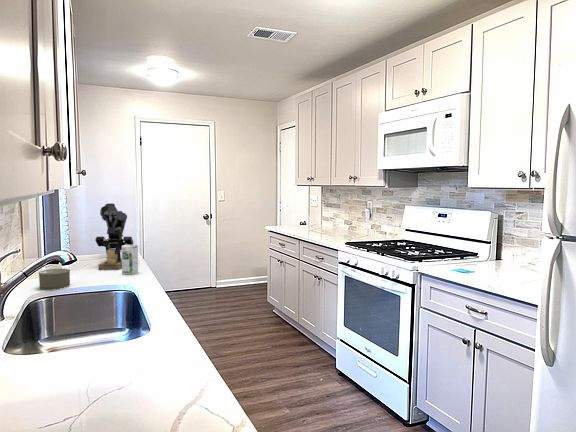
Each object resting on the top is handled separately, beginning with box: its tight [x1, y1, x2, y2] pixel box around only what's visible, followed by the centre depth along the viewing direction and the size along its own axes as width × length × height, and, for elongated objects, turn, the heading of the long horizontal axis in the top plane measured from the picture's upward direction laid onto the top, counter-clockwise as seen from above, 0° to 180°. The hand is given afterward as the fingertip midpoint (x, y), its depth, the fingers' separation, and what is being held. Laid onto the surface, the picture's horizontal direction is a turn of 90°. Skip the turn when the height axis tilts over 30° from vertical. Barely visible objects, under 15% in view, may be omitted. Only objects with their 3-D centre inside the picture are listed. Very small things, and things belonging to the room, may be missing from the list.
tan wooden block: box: [106, 248, 117, 264], centre depth 219 cm, size 4×4×8 cm
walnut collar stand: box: [98, 260, 122, 271], centre depth 219 cm, size 10×10×3 cm
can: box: [38, 268, 71, 291], centre depth 179 cm, size 12×12×7 cm
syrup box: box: [121, 244, 139, 276], centre depth 205 cm, size 6×6×14 cm
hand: (111, 254), depth 217 cm, fingers closed on tan wooden block, 4 cm apart
